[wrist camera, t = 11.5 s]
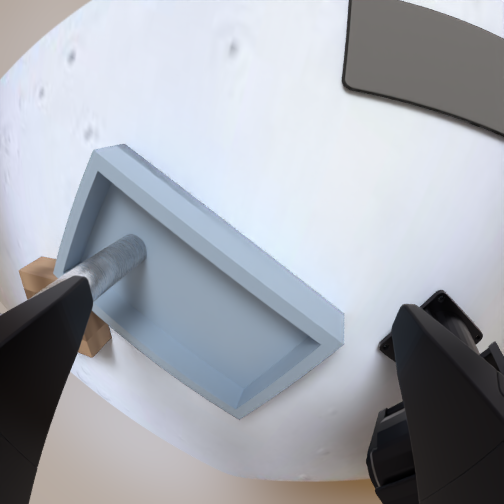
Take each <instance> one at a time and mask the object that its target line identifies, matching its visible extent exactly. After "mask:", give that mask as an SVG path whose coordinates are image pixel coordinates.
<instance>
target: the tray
mask: <svg viewBox="0 0 504 504" xmlns="http://www.w3.org/2000/svg"><path fill="white" fill-rule="evenodd" d="M127 234H134V235H137V236H138V237H140V238H141V239H142V240H143V242H144V244H145V246H146V249H147V255H146V258H145V260H144V261H143V262H142V263H141V264H139V265H138V266H137V267H136V268H134V269H133V270H132V271H131V272H129V273H128V274H127V275H126V276H124V277H123V278H122V279H121V280H119V281H118V282H117V283H116V284H115V285H113V286H112V287H111V288H110V289H109V290H107V291H106V292H105V293H104V294H103V295H101V296H100V297H99V298H98V299H97V300H95V301H94V302H93V308H92V311H93V312H94V313H95V314H96V315H97V316H99V317H100V318H101V319H102V320H103V321H104V322H105V323H107V324H108V325H109V326H110V327H111V328H112V329H114V330H115V331H116V332H117V333H118V334H120V335H121V336H122V337H123V338H124V339H126V340H127V341H128V342H129V343H131V344H132V345H133V346H134V347H136V348H137V349H138V350H139V351H141V352H142V353H143V354H144V355H146V356H147V357H148V358H150V359H151V360H152V361H153V362H155V363H156V364H157V365H159V366H160V367H161V368H163V369H164V370H165V371H167V372H168V373H170V374H171V375H172V376H174V377H175V378H177V379H178V380H179V381H181V382H182V383H184V384H185V385H186V386H188V387H189V388H191V389H192V390H194V391H195V392H197V393H198V394H200V395H201V396H203V397H204V398H206V399H207V400H209V401H210V402H212V403H213V404H215V405H216V406H218V407H219V408H221V409H223V410H224V411H226V412H227V413H229V414H231V415H232V416H234V417H236V418H237V419H239V420H240V419H241V418H243V417H244V416H246V415H247V414H249V413H251V412H252V411H254V410H255V409H257V408H258V407H260V406H261V405H263V404H264V403H266V402H267V401H269V400H270V399H272V398H273V397H274V396H276V395H277V394H279V393H280V392H282V391H283V390H284V389H286V388H287V387H289V386H290V385H291V384H293V383H294V382H296V381H297V380H298V379H300V378H301V377H302V376H304V375H305V374H307V373H308V372H309V371H311V370H312V369H313V368H314V367H316V366H317V365H318V364H320V363H321V362H322V361H324V360H325V359H326V358H327V357H329V356H330V355H331V354H333V353H334V352H335V351H336V350H338V349H339V348H340V347H341V346H342V345H344V313H342V312H341V311H340V310H339V309H337V308H336V307H335V306H334V305H332V304H331V303H330V302H328V301H327V300H326V299H325V298H323V297H322V296H321V295H320V294H318V293H317V292H316V291H314V290H313V289H312V288H311V287H309V286H308V285H307V284H305V283H304V282H303V281H302V280H300V279H299V278H298V277H297V276H295V275H294V274H293V273H291V272H290V271H289V270H288V269H286V268H285V267H284V266H282V265H281V264H280V263H279V262H277V261H276V260H275V259H273V258H272V257H271V256H270V255H268V254H267V253H266V252H264V251H263V250H262V249H261V248H259V247H258V246H257V245H255V244H254V243H253V242H252V241H250V240H249V239H248V238H246V237H245V236H244V235H243V234H241V233H240V232H239V231H237V230H236V229H235V228H233V227H232V226H231V225H230V224H228V223H227V222H226V221H224V220H223V219H222V218H221V217H219V216H218V215H217V214H215V213H214V212H213V211H211V210H210V209H209V208H208V207H206V206H205V205H204V204H202V203H201V202H200V201H198V200H197V199H196V198H195V197H193V196H192V195H191V194H189V193H188V192H187V191H185V190H184V189H183V188H182V187H180V186H179V185H178V184H176V183H175V182H174V181H172V180H171V179H170V178H169V177H167V176H166V175H165V174H163V173H162V172H161V171H159V170H158V169H157V168H155V167H154V166H153V165H152V164H150V163H149V162H148V161H146V160H145V159H144V158H142V157H141V156H140V155H138V154H137V153H136V152H134V151H133V150H132V149H131V148H129V147H128V146H127V145H125V144H121V145H115V146H110V147H105V148H100V149H95V150H93V152H92V155H91V157H90V160H89V162H88V165H87V167H86V170H85V172H84V175H83V177H82V180H81V183H80V186H79V188H78V191H77V194H76V197H75V200H74V203H73V206H72V209H71V212H70V215H69V218H68V221H67V224H66V227H65V231H64V234H63V238H62V241H61V245H60V248H59V252H58V256H57V260H56V264H55V268H54V272H53V274H54V275H55V276H56V277H57V278H60V277H61V276H63V275H64V274H66V273H67V272H69V271H70V270H72V269H73V268H75V267H76V266H78V265H79V264H81V263H82V262H84V261H85V260H87V259H88V258H90V257H92V256H93V255H95V254H96V253H98V252H99V251H101V250H103V249H104V248H106V247H107V246H109V245H111V244H112V243H114V242H115V241H117V240H119V239H120V238H122V237H124V236H125V235H127Z"/></svg>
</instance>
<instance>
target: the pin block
mask: <svg viewBox="0 0 504 504" xmlns="http://www.w3.org/2000/svg"><path fill="white" fill-rule="evenodd" d="M56 260H57V259H52V258H47V257H40V258H38V259H37V260H35V261H33V262H32V263H30V264H29V265H27V266H25V267H24V268H22V269H20V270H19V273H20V277H21V280H22V284H23V287H24V290H25V293H26V296H27V299H30V298H31V297H32V296H34V295H35V294H37V293H38V292H39V291H41V290H42V289H44V288H45V287H47V286H48V285H49V284H51V283H52V282H54V281H55V280H57V279H58V278H57V277H56V276H55V275H54V274H53V272H54V268H55V264H56ZM111 338H112V337H111V333H110V330H109V326H108V324H107V323H105V322H104V321H103V320H102V319H101V318H100V317H99V316H97V315H96V314H95V313H94V312H93V311H91V314H90V317H89V320H88V323H87V326H86V329H85V332H84V335H83V339H82V342H81V345H80V348H79V351H78V352H79V353H81V354H84V355H86V356H89V357H92V358H93V357H94V356H95V355H96V354H97V352H98V351H99V350H100V349H101V348H102V347H103V346H104V345H105V344H106V343H107V342H108V341H109V340H110V339H111Z"/></svg>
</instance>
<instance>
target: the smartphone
mask: <svg viewBox="0 0 504 504" xmlns="http://www.w3.org/2000/svg"><path fill="white" fill-rule="evenodd" d="M342 83H343V85H344V86H345V87H346V88H347V89H349V90H353V91H358V92H363V93H368V94H372V95H377V96H381V97H386V98H390V99H394V100H398V101H402V102H406V103H409V104H413V105H417V106H420V107H424V108H427V109H430V110H434V111H437V112H440V113H443V114H446V115H449V116H452V117H455V118H458V119H461V120H464V121H467V122H469V123H471V124H473V125H476V126H479V127H483V128H485V129H487V130H490V131H492V132H494V133H496V134H499V135H501V136H503V137H504V39H503V38H501V37H499V36H497V35H495V34H493V33H491V32H489V31H486V30H484V29H482V28H480V27H477V26H475V25H472V24H470V23H468V22H465V21H462V20H460V19H457V18H455V17H452V16H449V15H446V14H443V13H440V12H438V11H434V10H431V9H428V8H425V7H422V6H418V5H415V4H411V3H408V2H404V1H400V0H349V7H348V21H347V35H346V44H345V55H344V64H343V74H342Z"/></svg>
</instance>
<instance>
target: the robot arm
mask: <svg viewBox="0 0 504 504" xmlns="http://www.w3.org/2000/svg"><path fill="white" fill-rule="evenodd" d="M440 296H443V297H442V298H441V299H438V298H439V297H440ZM92 308H93V297H92V293H91V289H90V285H89V281H88V279H87V278H86V277H84V276H77V275H74V276H72V277H70V278H68V279H66V280H64V281H62V282H60V283H58V284H56V285H55V286H53V287H51V288H49V289H47V290H45V291H43V292H41V293H40V294H38V295H36V296H34V297H32V298H30V299H29V300H27V301H25V302H23V303H21V304H20V305H18V306H16V307H14V308H12V309H11V310H9V311H7V312H6V313H4V314H2V315H0V504H29V500H30V495H31V491H32V487H33V483H34V479H35V476H36V472H37V467H38V464H39V460H40V457H41V454H42V450H43V447H44V443H45V440H46V437H47V434H48V431H49V428H50V424H51V422H52V419H53V416H54V413H55V410H56V407H57V405H58V402H59V399H60V396H61V394H62V391H63V388H64V386H65V383H66V381H67V378H68V375H69V373H70V370H71V368H72V365H73V363H74V361H75V358H76V356H77V353H78V351H79V348H80V345H81V342H82V339H83V335H84V332H85V329H86V326H87V323H88V320H89V317H90V314H91V311H92ZM477 335H478V336H477ZM476 336H477V337H476ZM482 337H483V334H482V332H481V331H480V329H479V328H478V327H477V326H476V325H475V324H474V323H473V321H472V320H471V319H470V318H469V317H468V316H467V315H466V314H465V312H464V311H463V310H462V309H461V308H460V307H459V306H458V305H457V304H456V303H455V302H454V301H453V299H452V298H451V297H450V296H449V295H448V294H447V293H446V292H445V291H443V290H439V291H437V292H436V293H435V294H434V295H432V296H431V297H430V298H429V299H428V300H427V301H426V302H425V303H424V304H423V305H422V306H421V307H420V308H419V307H418V306H417V305H415V304H403V305H402V306H401V307H400V309H399V312H398V314H397V316H396V318H395V321H394V323H393V326H392V332H391V333H390V334H389V335H387V336H386V337H385V338H384V339H383V340H381V342H380V343H379V348H380V351H381V352H383V353H384V354H385V355H387V356H388V357H389V358H390V359H392V360H393V361H394V362H396V367H397V375H398V380H399V385H400V389H401V394H402V399H403V402H401V403H399V404H397V405H395V406H393V407H391V408H389V409H387V408H386V409H384V410H382V411H380V412H379V414H378V418H377V422H376V425H375V429H374V433H373V436H372V439H371V443H370V446H369V449H368V454H367V459H366V464H367V466H368V472H369V476H370V478H371V481H372V483H373V485H374V487H375V492H376V494H377V496H378V497H379V498H380V500H381V502H382V503H383V504H504V356H503V354H502V352H501V351H500V349H499V347H498V345H497V343H496V342H493V343H492V344H491V345H489V346H488V347H489V348H488V349H486V350H485V351H484V352H482V353H481V354H480V353H479V351H478V349H477V347H476V344H477V343H478V342H479V341H480V340H481V339H482ZM384 345H388V346H386V347H384Z"/></svg>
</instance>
